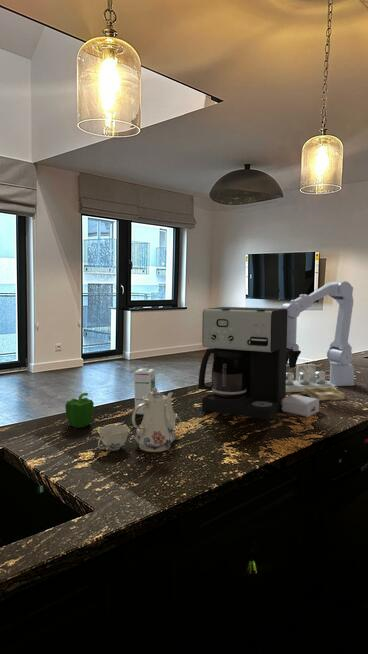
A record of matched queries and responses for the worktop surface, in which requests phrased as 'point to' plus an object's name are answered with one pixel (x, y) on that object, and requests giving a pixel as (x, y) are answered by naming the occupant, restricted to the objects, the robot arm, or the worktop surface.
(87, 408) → the bell pepper
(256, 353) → the coffee maker
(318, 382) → the cylinder
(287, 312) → the robot arm
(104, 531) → the worktop surface
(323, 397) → the tray
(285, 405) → the charger
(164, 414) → the chinaware
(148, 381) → the syrup box
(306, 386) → the scale
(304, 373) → the spacer
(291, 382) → the cylinder
